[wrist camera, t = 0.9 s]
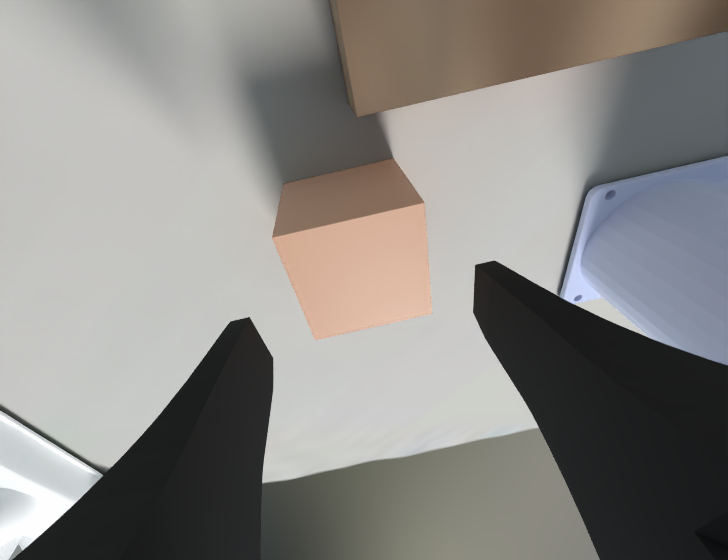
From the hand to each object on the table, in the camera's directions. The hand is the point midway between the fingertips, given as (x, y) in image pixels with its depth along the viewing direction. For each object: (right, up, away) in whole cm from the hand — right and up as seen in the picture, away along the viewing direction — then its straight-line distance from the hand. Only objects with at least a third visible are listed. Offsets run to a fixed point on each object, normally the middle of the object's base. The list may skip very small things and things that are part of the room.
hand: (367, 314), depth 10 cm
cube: (-1, +4, +5) cm, 7 cm away
